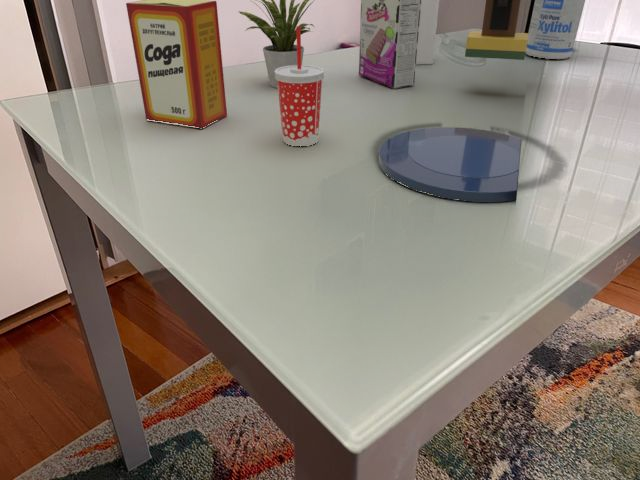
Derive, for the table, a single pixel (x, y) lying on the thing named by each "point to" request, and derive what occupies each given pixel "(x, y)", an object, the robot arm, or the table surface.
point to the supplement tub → (554, 28)
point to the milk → (427, 31)
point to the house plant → (280, 35)
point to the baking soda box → (179, 60)
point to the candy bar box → (389, 41)
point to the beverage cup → (299, 100)
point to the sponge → (497, 38)
